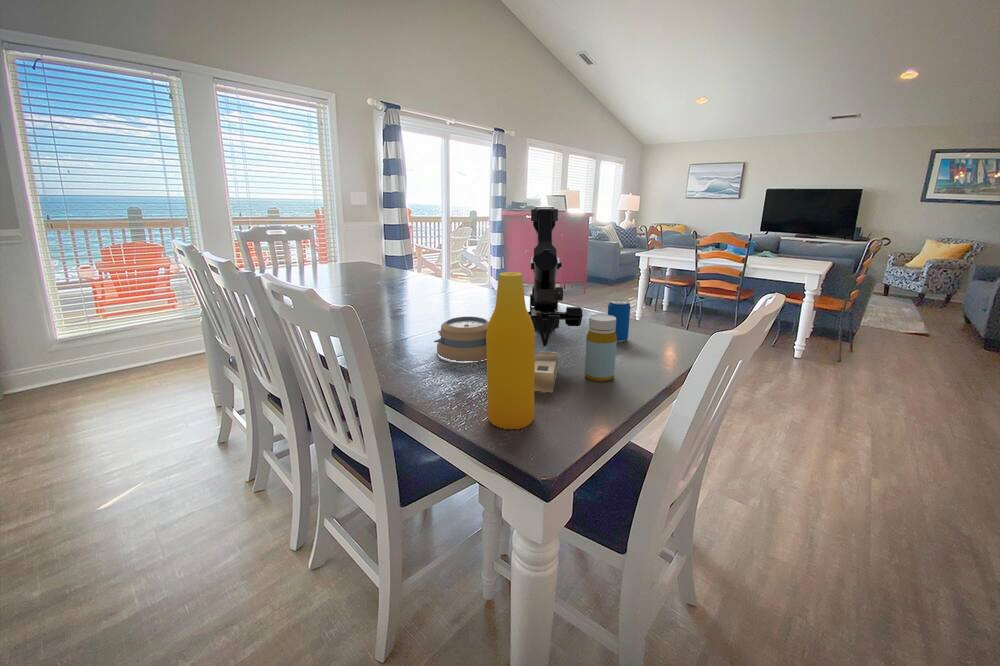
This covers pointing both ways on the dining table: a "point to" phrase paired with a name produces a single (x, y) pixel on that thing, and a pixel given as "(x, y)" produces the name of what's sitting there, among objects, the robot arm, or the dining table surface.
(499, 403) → the beer bottle
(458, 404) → the dining table surface
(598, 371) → the bottle
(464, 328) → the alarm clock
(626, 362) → the dining table surface
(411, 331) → the dining table surface
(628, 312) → the beverage can
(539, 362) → the block
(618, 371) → the dining table surface
